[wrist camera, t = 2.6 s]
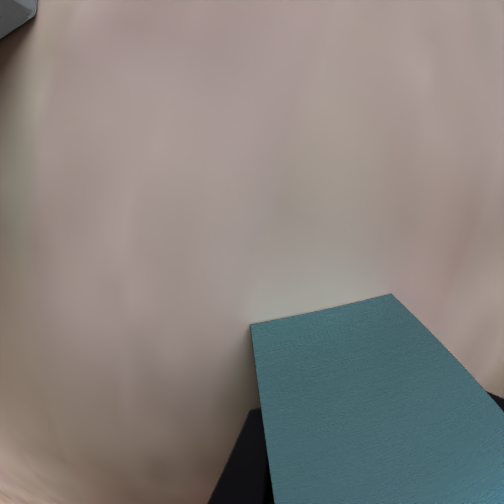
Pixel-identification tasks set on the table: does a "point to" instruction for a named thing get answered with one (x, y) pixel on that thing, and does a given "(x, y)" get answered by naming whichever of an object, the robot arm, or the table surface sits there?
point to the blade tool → (373, 411)
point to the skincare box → (15, 14)
